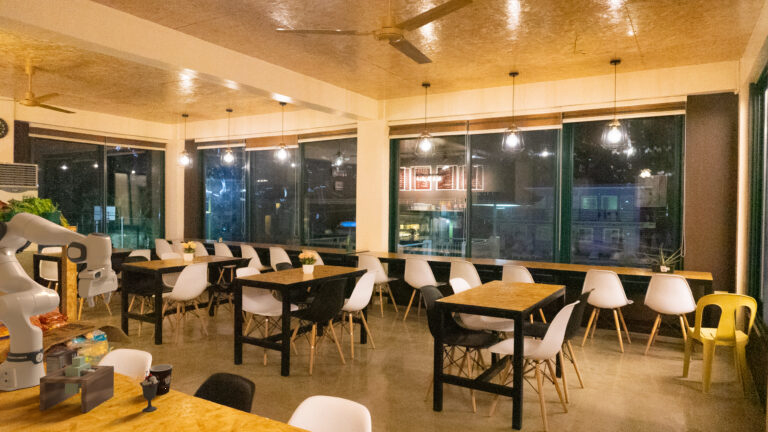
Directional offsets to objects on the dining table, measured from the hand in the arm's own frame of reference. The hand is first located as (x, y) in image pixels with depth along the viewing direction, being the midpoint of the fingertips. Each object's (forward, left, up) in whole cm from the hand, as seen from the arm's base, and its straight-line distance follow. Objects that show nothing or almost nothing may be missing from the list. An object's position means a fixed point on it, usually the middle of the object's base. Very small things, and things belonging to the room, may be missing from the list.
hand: (99, 304), depth 205 cm
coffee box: (-10, -8, -34) cm, 37 cm away
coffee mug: (+28, -5, -34) cm, 45 cm away
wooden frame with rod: (+4, -18, -34) cm, 39 cm away
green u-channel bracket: (+4, -18, -29) cm, 35 cm away
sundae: (+34, -21, -34) cm, 53 cm away
